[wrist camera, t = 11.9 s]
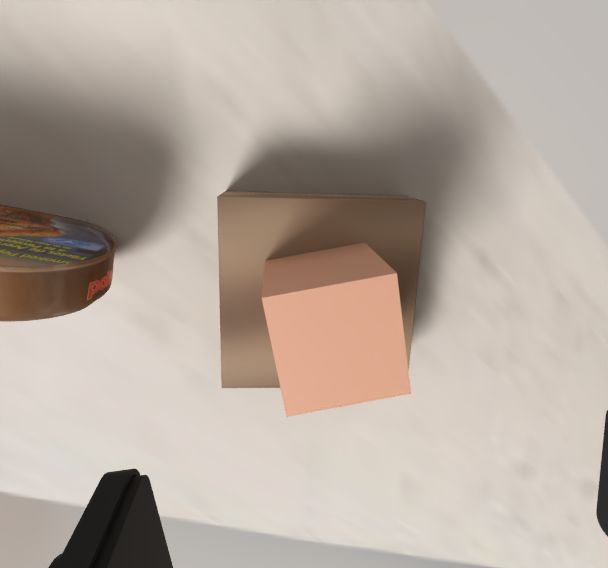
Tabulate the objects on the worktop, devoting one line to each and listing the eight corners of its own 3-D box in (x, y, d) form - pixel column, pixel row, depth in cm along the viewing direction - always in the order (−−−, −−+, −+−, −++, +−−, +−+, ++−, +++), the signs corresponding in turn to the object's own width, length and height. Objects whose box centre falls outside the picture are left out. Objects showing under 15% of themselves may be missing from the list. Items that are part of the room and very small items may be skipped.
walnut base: (226, 190, 25) (217, 196, 21) (403, 195, 25) (425, 201, 22) (229, 355, 27) (221, 387, 24) (388, 355, 28) (406, 387, 24)
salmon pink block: (264, 260, 22) (261, 298, 16) (365, 242, 22) (396, 273, 16) (283, 352, 23) (286, 416, 18) (377, 334, 23) (410, 393, 18)
